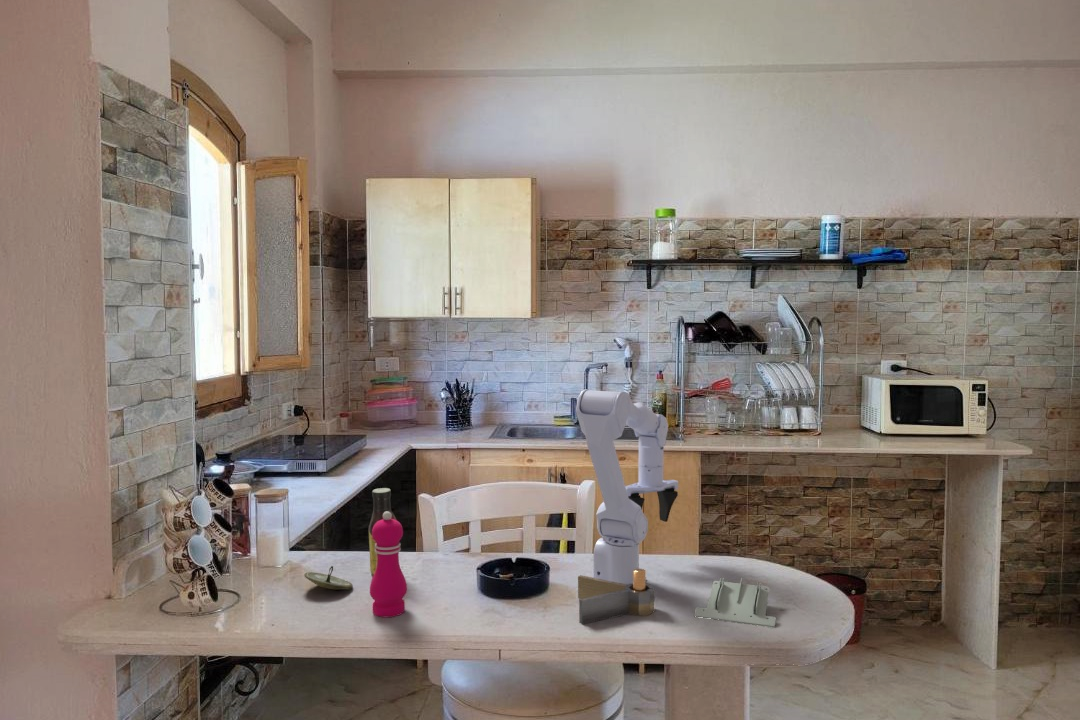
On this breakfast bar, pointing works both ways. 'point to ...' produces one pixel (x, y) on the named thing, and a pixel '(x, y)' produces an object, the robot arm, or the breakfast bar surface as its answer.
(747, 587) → the metal bracket
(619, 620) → the breakfast bar surface
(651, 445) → the robot arm
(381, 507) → the sauce bottle
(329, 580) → the lid
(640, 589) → the hinge pin
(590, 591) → the hinge
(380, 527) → the pepper mill
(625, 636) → the breakfast bar surface
